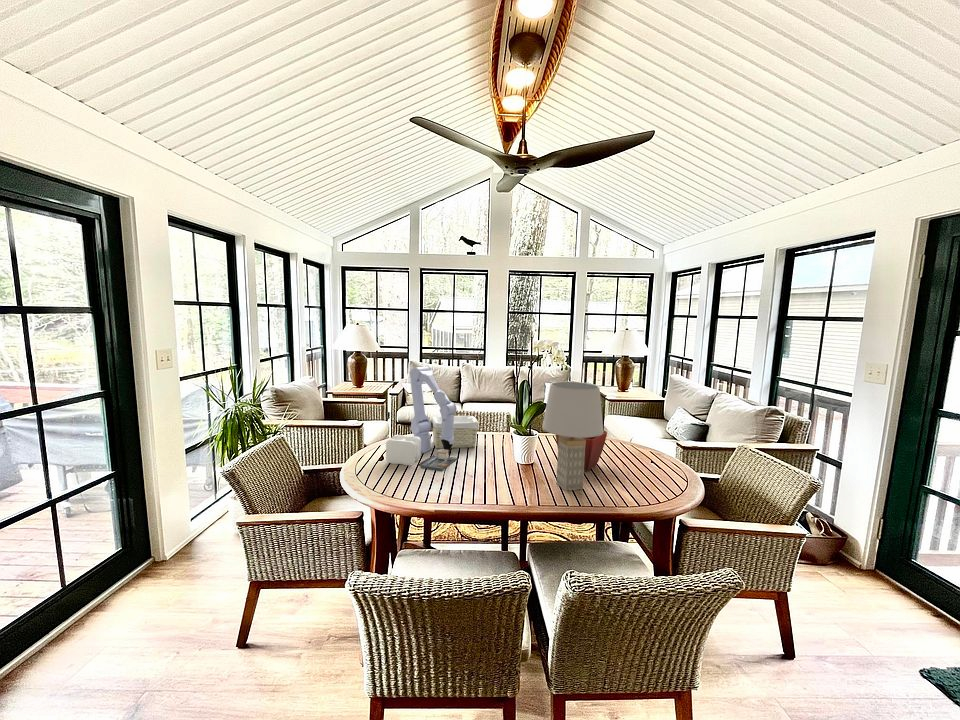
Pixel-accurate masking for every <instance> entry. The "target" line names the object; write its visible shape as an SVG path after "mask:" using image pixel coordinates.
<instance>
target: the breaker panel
mask: <svg viewBox="0 0 960 720" xmlns="http://www.w3.org/2000/svg"><path fill="white" fill-rule="evenodd" d="M455 462H458V457H457V456H450V455H448V458H447V459H446V460H444V459H438V454H436V455H435V456H434V457H433V458H431V459H430V460H428V461H426V462H425V463H423V464H422V465H421V466H420V468H421V469H427V470H433V471H437V472H443V471H444V470H446V469H447V468H449V467H450V466H452V464H454V463H455Z"/></svg>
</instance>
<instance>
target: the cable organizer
mask: <svg viewBox="0 0 960 720" xmlns="http://www.w3.org/2000/svg"><path fill="white" fill-rule="evenodd" d="M421 455H422V453H421V439H420V438H419V437H414V435H413V436H411V435H402V434H394V435H393V436H391V438H390V439H388V440H387V441H386V443H385V460H386V462H388V463H389V464H391V465H404V466H412V465H413V464H415V463H416V460H418V459H420V458H421Z"/></svg>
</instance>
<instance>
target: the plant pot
mask: <svg viewBox="0 0 960 720" xmlns="http://www.w3.org/2000/svg"><path fill="white" fill-rule="evenodd" d="M603 431H604V432H603V434H602V435H600V436H596V437H588V438H583V439H585V440H586V445H585V459H584V472H588V471H589V469H590V470H591V469H593V468H594V467H595V466H597V464H598V463H599V462H600V461H599V460H600V458H601V455H602V453H603V450H604V446H605V443H606V440H607V435H608V431H606V430H603ZM558 436H560V435H555V439H556V440H555V441H556V447H557V448H558V442H559V441H558ZM592 467H593V468H592Z"/></svg>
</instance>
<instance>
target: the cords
mask: <svg viewBox="0 0 960 720" xmlns="http://www.w3.org/2000/svg"><path fill="white" fill-rule="evenodd" d="M434 456H436V455H435V454H433V455H431V456H429V457H428V458H426V459H424V460H423V461H421V462H420V463H418V465H417V466H419V467H421V465H422V464H423V463H425V462H426V461H428V460H430V459H431V458H433V457H434Z"/></svg>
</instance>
